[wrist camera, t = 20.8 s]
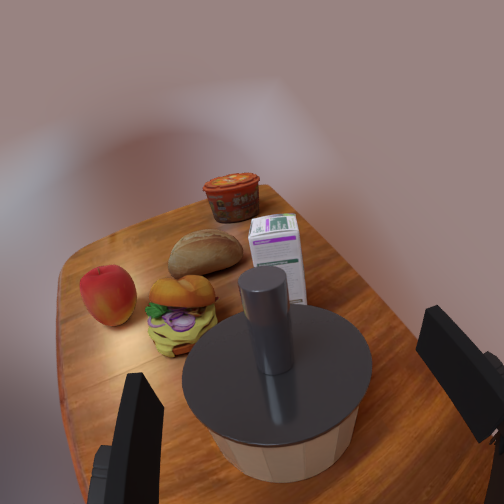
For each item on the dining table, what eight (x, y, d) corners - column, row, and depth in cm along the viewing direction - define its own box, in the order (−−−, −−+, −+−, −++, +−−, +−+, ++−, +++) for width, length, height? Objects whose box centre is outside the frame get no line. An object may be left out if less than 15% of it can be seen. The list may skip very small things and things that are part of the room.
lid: (377, 319, 25) (384, 231, 21) (351, 470, 13) (375, 394, 9) (232, 304, 31) (215, 228, 27) (152, 414, 19) (99, 330, 15)
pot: (362, 382, 28) (372, 317, 24) (334, 495, 17) (346, 459, 13) (249, 365, 34) (234, 303, 30) (195, 457, 23) (157, 407, 19)
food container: (198, 222, 84) (190, 186, 79) (234, 204, 94) (228, 172, 90) (240, 228, 74) (232, 187, 69) (275, 208, 85) (270, 171, 80)
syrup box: (309, 330, 38) (302, 228, 31) (265, 335, 38) (247, 235, 32) (305, 305, 43) (297, 211, 36) (265, 309, 43) (250, 217, 37)
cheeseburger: (136, 350, 38) (121, 285, 36) (181, 321, 47) (172, 264, 45) (192, 369, 34) (179, 295, 31) (234, 332, 43) (227, 268, 41)
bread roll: (252, 270, 54) (245, 230, 51) (173, 293, 51) (160, 253, 48) (238, 250, 63) (231, 215, 59) (170, 270, 60) (159, 235, 56)
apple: (144, 330, 42) (121, 275, 38) (92, 343, 41) (65, 291, 36) (145, 298, 51) (127, 249, 47) (99, 310, 49) (79, 263, 45)
